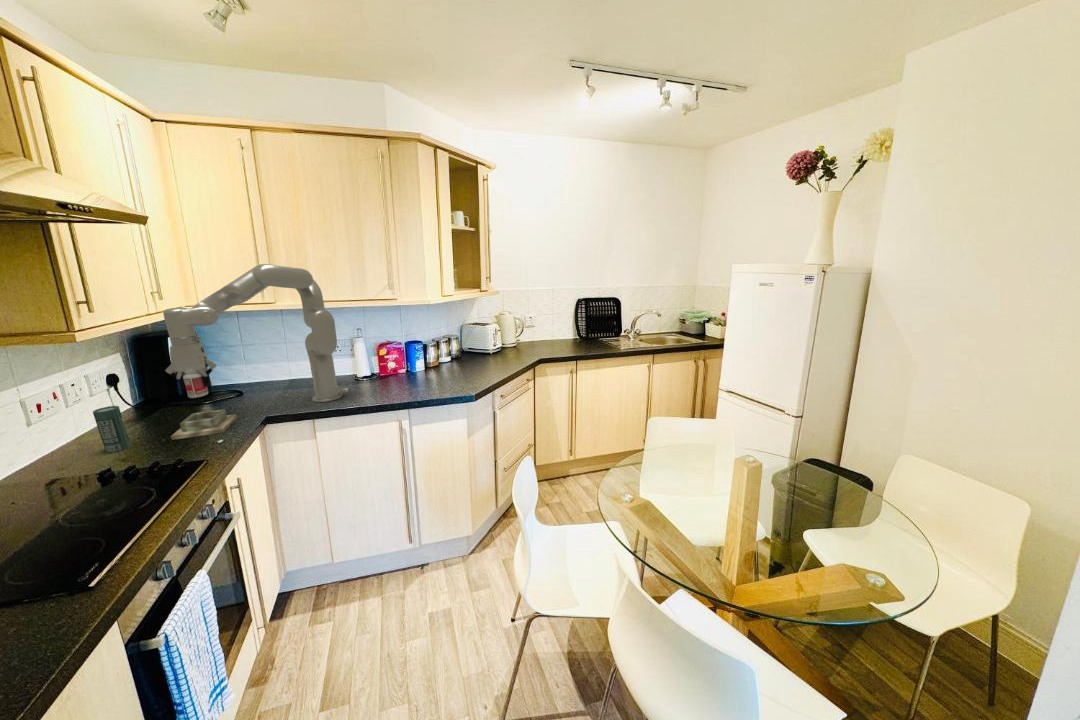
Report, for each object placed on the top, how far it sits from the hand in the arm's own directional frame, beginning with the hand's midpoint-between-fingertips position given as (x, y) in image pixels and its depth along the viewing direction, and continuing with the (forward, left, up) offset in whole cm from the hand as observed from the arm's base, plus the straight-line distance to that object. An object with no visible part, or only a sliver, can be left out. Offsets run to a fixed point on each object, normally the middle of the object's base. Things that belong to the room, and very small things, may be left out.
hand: (196, 386), depth 157 cm
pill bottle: (0, 0, -4) cm, 4 cm away
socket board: (0, 0, -17) cm, 17 cm away
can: (+23, +9, -17) cm, 30 cm away
